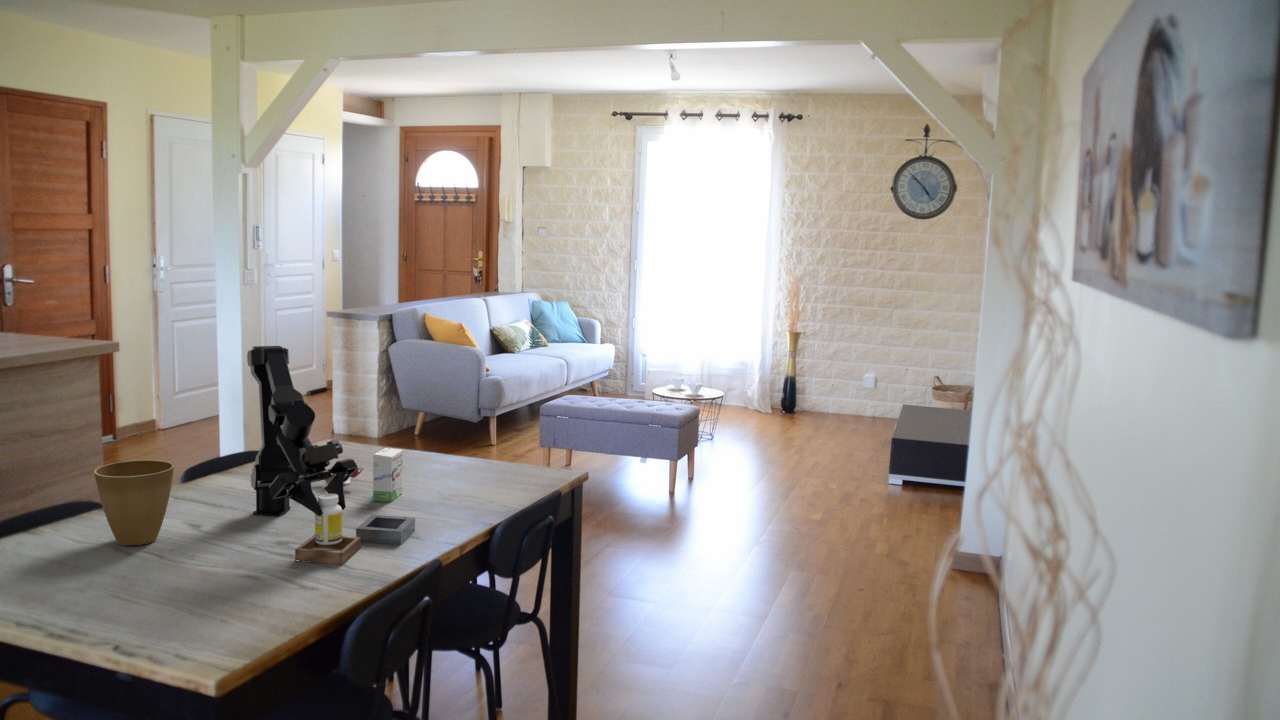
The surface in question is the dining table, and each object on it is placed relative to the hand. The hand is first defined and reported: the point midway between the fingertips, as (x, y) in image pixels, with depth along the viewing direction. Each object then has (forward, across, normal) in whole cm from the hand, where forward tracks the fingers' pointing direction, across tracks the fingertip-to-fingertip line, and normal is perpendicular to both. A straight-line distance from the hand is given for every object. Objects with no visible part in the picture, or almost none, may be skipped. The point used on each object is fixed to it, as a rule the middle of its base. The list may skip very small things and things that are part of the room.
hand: (332, 511), depth 200 cm
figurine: (-23, +35, +37) cm, 56 cm away
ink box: (-10, +36, +25) cm, 45 cm away
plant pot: (-20, -21, +34) cm, 44 cm away
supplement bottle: (+4, 0, +6) cm, 7 cm away
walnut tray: (+6, 0, +8) cm, 10 cm away
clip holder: (+6, +16, +8) cm, 19 cm away
